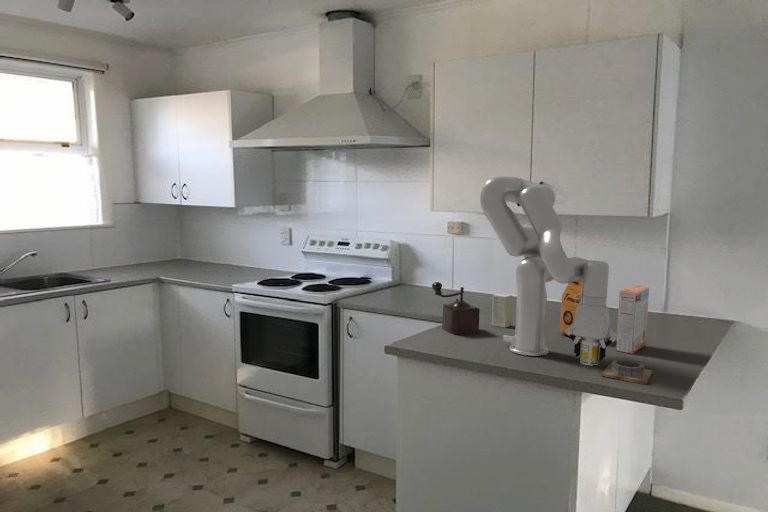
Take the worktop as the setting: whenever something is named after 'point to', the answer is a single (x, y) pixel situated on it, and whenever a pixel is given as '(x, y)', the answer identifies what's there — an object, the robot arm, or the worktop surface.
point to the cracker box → (632, 319)
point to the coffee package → (569, 305)
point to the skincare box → (501, 310)
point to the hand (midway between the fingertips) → (589, 357)
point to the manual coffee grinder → (458, 314)
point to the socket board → (628, 371)
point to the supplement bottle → (589, 351)
